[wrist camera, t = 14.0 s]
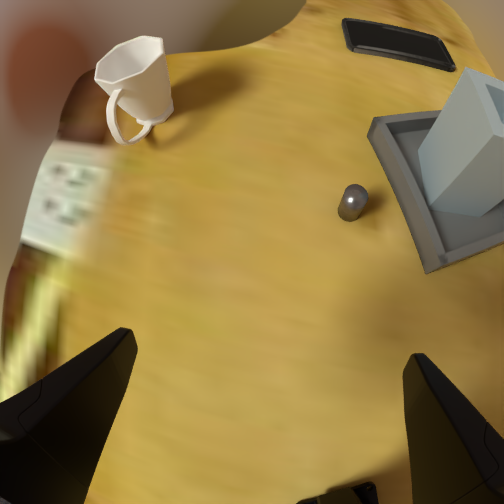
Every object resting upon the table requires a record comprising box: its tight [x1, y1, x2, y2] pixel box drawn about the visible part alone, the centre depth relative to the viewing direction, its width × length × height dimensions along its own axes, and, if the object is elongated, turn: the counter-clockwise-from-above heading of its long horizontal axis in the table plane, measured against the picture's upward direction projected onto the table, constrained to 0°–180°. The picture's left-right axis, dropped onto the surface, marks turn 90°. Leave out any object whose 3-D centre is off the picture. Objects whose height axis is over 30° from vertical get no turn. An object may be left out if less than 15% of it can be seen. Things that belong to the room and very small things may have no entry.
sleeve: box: [418, 67, 504, 217], centre depth 19 cm, size 8×6×11 cm
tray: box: [367, 110, 504, 274], centre depth 23 cm, size 14×12×3 cm
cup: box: [94, 36, 174, 145], centre depth 25 cm, size 7×10×8 cm
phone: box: [342, 18, 455, 72], centre depth 30 cm, size 8×1×15 cm
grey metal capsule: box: [338, 184, 368, 222], centre depth 23 cm, size 2×2×3 cm
